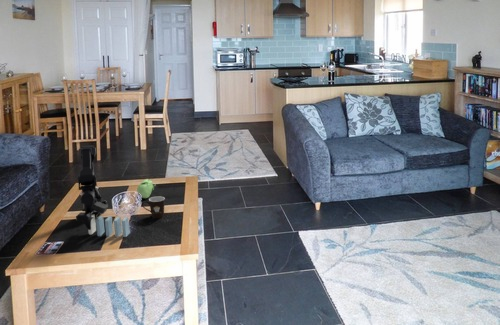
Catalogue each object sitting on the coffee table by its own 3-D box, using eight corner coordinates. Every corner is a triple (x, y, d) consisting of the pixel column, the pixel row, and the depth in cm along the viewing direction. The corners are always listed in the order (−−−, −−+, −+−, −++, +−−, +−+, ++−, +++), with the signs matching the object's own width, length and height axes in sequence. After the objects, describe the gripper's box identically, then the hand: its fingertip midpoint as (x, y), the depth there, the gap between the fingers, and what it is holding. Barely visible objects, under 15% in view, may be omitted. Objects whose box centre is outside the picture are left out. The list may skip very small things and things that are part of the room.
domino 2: (97, 236, 224) (95, 220, 222) (101, 231, 229) (100, 216, 227) (100, 236, 224) (99, 220, 222) (104, 232, 229) (103, 216, 227)
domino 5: (123, 236, 223) (121, 220, 221) (126, 232, 228) (125, 217, 226) (126, 237, 223) (124, 220, 221) (129, 232, 228) (128, 217, 226)
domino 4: (115, 236, 223) (113, 220, 221) (118, 232, 228) (117, 216, 226) (118, 236, 223) (116, 220, 221) (122, 232, 228) (120, 216, 226)
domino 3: (106, 236, 224) (104, 220, 222) (110, 232, 229) (108, 216, 227) (109, 236, 224) (108, 220, 222) (113, 232, 229) (111, 216, 226)
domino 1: (88, 234, 225) (87, 218, 222) (93, 230, 229) (91, 214, 227) (92, 234, 224) (90, 218, 222) (96, 230, 229) (94, 214, 227)
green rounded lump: (154, 200, 274) (153, 183, 271) (136, 200, 274) (135, 183, 271) (158, 193, 286) (157, 177, 283) (140, 194, 286) (139, 177, 283)
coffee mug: (168, 214, 252) (167, 197, 249) (160, 219, 244) (159, 202, 241) (150, 211, 256) (149, 195, 253) (142, 217, 248) (140, 200, 245)
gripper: (96, 205, 212) (99, 235, 217) (112, 192, 230) (114, 220, 234) (73, 204, 213) (77, 235, 218) (90, 191, 231) (93, 220, 235)
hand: (91, 227), depth 226 cm, fingers closed on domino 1, 5 cm apart
